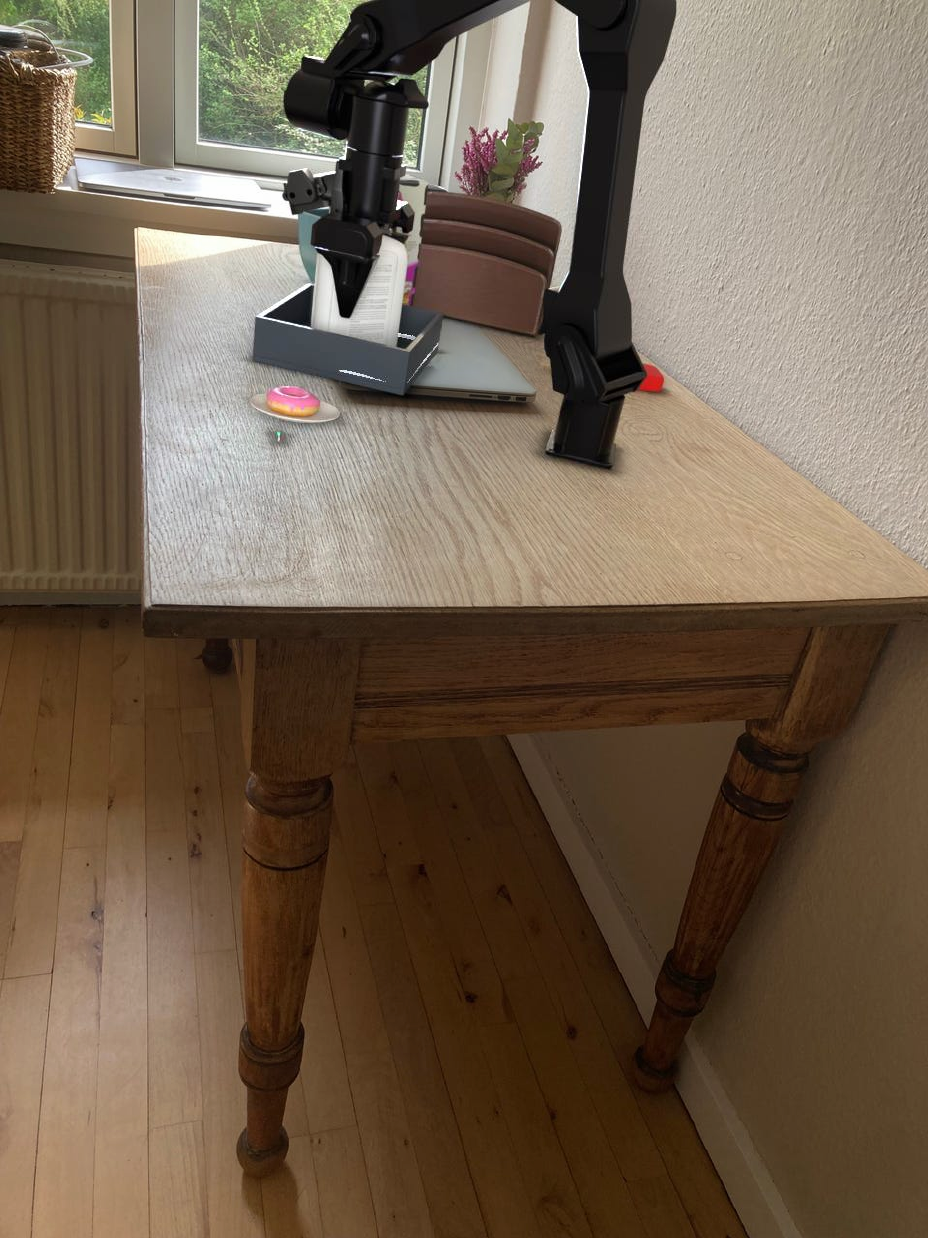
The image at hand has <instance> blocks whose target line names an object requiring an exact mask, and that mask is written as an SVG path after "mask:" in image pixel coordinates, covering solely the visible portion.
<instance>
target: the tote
mask: <svg viewBox="0 0 928 1238" xmlns="http://www.w3.org/2000/svg"><path fill="white" fill-rule="evenodd" d="M314 284H315V283H310V282H307V283H306V284H305V285H303V286H302V287H300V288H298V289H297V290H295V291H294V292H292V293H291V294H288V295H287V296H286V297H283V298H282V299H281V300H279V301H278V302H276V303H275V304H273V305H271V306H270V307H269V308H267V309H265V310H263V311H262V312H261V313H259V314H257V315H256V316H255V317H254V332H253V344H252V346H253V347H252V348H253V349H252V361H253V362H256V363H261V364H265V365H270V366H273V367H278V368H283V369H286V370H291V371H295V372H300V373H304V374H308V375H313V376H317V377H320V378H325V379H330V380H335V381H338V382H343V383H347V384H351V385H357V386H361V387H365V388H369V389H374V390H377V391H381V392H386V393H390V394H395V395H399V396H404V395H405V394H406V393H407V391H408V390H410V388H411V387H412V385H413V384H414V383H415V382H416V380H418V377H420V376H421V374H422V373H423V372H424V370H425V369H426V367H427V366H428V365H429V364H430V362H431V361H432V360H433V358H434V357H435V356H436V355H437V354H438V351H439V347H440V346H439V345H438V346H437V347H436V348H435V350H434V351H433V352H432V353H431V355H430V356H429V357H428V358H427V360H426V361H425V362H424V363H423V364H422V366H421V367H420V368H419V369H418V371H417V372H416V373H415V371H416V370H417V368H418V367H419V366H420V364H421V363H422V362H423V360H424V359H425V358H426V357H427V355H428V354H429V353H430V352H431V351H432V350H433V348H434V347H435V346H436V345H437V343H438V342H439V343H440V339H441V332H442V326H443V320H444V317H443V315H444V314H443V313H439V312H435V311H430V310H426V309H421V308H417V307H413V306H408V305H404V304H402V309H401V317H400V324H399V332H398V333H401V334H407V335H411V336H412V335H413V336H415V337H416V338H415V339H414V340H411V339H407V338H402V337H398V340H397V346H396V347H393V346H389V345H385V344H380V343H376V342H371V341H367V340H363V339H358V338H354V337H350V336H345V335H341V334H336V333H332V332H328V331H323V330H319V329H315V328H311V317H312V306H313V295H314ZM339 370H347V371H352V372H356V373H360V374H364V375H367V376H370V377H373V378H375V379H380V380H382V381H379V380H375V379H370V378H366V377H362V376H357V375H353V374H349V373H344V372H340V371H339ZM414 373H415V374H414ZM413 374H414V376H413ZM412 376H413V377H412ZM411 377H412V378H411ZM410 378H411V379H410ZM409 379H410V381H409ZM383 381H384V382H383ZM385 381H386V382H385ZM408 381H409V382H408ZM407 382H408V383H407Z"/></svg>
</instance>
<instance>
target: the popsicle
mask: <svg viewBox="0 0 928 1238" xmlns="http://www.w3.org/2000/svg"><path fill="white" fill-rule="evenodd" d="M538 364H539V365H540V366H545V367H551V365H550V360H549V361H548V360H540V359H539V360H538ZM643 366H644V368H645V370H646V372H647V377H646V379H645V380H644V382H643V383H642V385H641V386H640V387H639V389H638V390H637V391H647V392H653V393H657V392H661V390H662V389H663V386H664V383H665V377H664V375H663V374H662V373H661V371H660V370H659V369H658V367H656V366H655V365H653V364H648V363H643Z"/></svg>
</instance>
